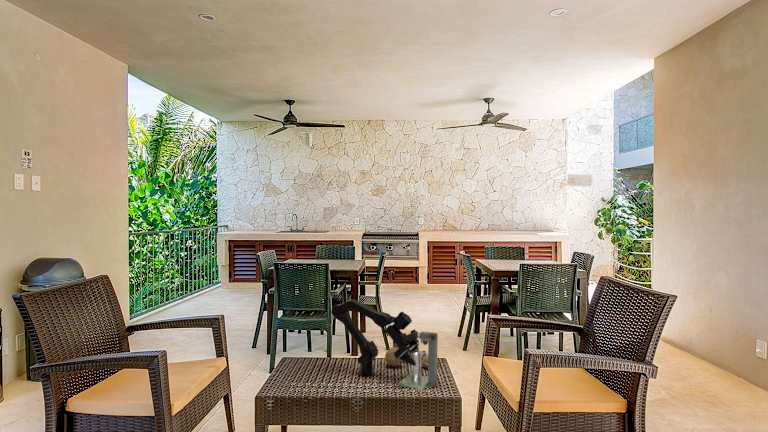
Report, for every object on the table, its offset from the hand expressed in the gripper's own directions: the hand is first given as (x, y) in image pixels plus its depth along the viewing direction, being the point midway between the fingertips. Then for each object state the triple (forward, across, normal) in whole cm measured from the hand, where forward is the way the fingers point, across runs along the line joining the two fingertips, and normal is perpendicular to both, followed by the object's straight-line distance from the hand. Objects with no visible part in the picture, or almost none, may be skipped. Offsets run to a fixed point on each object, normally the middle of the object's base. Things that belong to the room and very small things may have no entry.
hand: (418, 362), depth 210 cm
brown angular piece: (-7, +27, +21) cm, 35 cm away
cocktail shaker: (+5, 0, +7) cm, 8 cm away
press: (+7, -2, +6) cm, 10 cm away
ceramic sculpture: (+3, +24, +11) cm, 27 cm away
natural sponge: (-7, +17, +21) cm, 28 cm away
